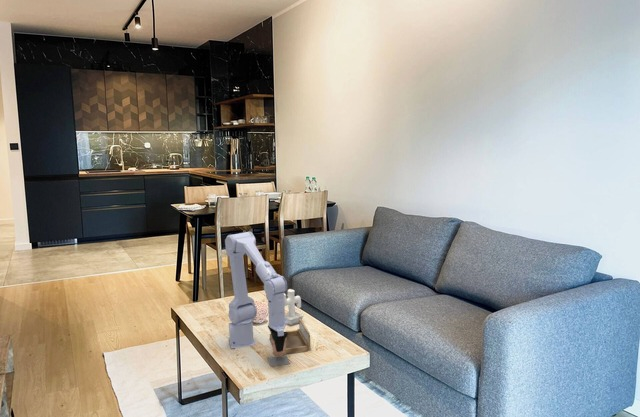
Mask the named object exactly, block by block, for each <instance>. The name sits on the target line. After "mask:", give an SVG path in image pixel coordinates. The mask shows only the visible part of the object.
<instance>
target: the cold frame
mask: <svg viewBox="0 0 640 417" xmlns="http://www.w3.org/2000/svg"><path fill="white" fill-rule="evenodd" d="M286 332H287V333H288V335H287V337H286V342H285V343H286V353H285V354H284V355H283V356H285V355H287V356H288V355H293V354H301V353H307V352H309V351H308V343H307V342H306V340H305V338H304V336H303V335H302V333H301V331H300V330H299V328H297V330H295V329H294V330H289V331H286ZM271 337H272V335H271V333H269V340H270V343H271V345H272V347H273V343H272V342H271ZM311 349H312V347H311V345H310V351H312V350H311Z"/></svg>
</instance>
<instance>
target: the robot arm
mask: <svg viewBox="0 0 640 417" xmlns="http://www.w3.org/2000/svg"><path fill="white" fill-rule="evenodd" d="M256 240H257V239H256V237H255V235H254V234H253V233H252V231H245V232H239V233H235V234H228V235H227V236H226V238H225V239H224V245H225V251H226V256H228V257H229V259H228V260H229V265H230V273H231V279H232V281H231V282H232V288H233V296H234V298H233V299H232V300H231V301H230V302H229V304H228V318H229V321H230V323H228V336H229V337H228V342H229V346H230V349H231V350H232V349H236V348H242V347H243V348H244V347H250V346H256V345H257V343H256V341H255V337H254V326H253V325H254V324H253V321H255V318H256V317H257V314H258V310H257V306H256V304H255V300H254V299H253V298H252V297H251V296H249V292H248V286H247V279H246V271H245V263H244V256H245V255H246V256H247V257H248V258H249V260H250V261H251V262H252V263H253V265H255V272H256V274H257V276H258V277H259V279H260V280H261V282H262V283H263V290H264V293H265V298H266V300H267V307H268V308H267V309H268V324H267V328H268V330H269V332H270V334H271V335H272V337H273V339H274V342H275V347H276V351H277V352H281V351H283V348H284V342H285V339H286V337H287V335H288V333H287V331H285V327H286V326H289V325H288V324H289V322H288V321H285V314H286V313H285V312H286V309H285V308H286V306H285V305H284V293H286V291H288V283H287V280H286V278H285V276H283V275H280V274H278V273H277V271H276V270H275V269H274V267H273V265H272V264H271V263H270V262H269V261H266V260H265V259H264V258H263V256H262V254H261V252H260V251H259V249H258V248H257V245H256V244H257V241H256Z"/></svg>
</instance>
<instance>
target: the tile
mask: <svg viewBox="0 0 640 417" xmlns="http://www.w3.org/2000/svg"><path fill="white" fill-rule="evenodd" d="M267 360H268V363H269V366H270V367H278V366H286V365H291V362H290V359H289V357H288V354H287V355H282V356H272V357H267Z"/></svg>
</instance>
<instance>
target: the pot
mask: <svg viewBox="0 0 640 417" xmlns="http://www.w3.org/2000/svg"><path fill="white" fill-rule="evenodd" d="M271 342H272V343H273V346H272V354H273V355H274V356H275V357H277V356H285V355H284V354H285V353H286V343H285V342H286V339H285V342H284V348H283V351H281V352H277V351H276V347H275V342H274V339H273V337H271V341H270V343H271ZM272 343H271V344H272Z"/></svg>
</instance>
